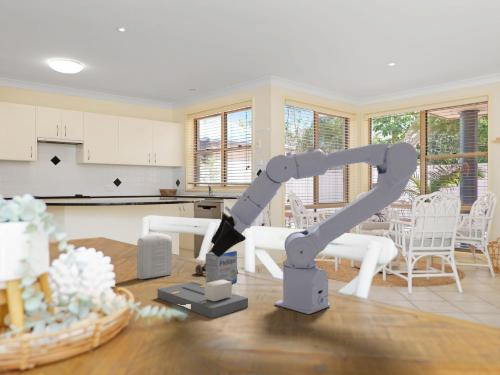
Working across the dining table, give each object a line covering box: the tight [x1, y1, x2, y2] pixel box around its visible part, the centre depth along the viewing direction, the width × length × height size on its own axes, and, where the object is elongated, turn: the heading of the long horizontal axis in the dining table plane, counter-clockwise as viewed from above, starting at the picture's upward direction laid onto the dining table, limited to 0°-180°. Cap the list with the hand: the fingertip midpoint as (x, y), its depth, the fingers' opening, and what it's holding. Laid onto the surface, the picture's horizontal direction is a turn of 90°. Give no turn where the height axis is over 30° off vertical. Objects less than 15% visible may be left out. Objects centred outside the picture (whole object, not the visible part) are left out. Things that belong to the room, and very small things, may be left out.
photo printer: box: [136, 232, 173, 280], centre depth 114 cm, size 10×4×12 cm, turn 134°
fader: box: [204, 279, 233, 301], centre depth 85 cm, size 3×5×3 cm, turn 135°
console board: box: [156, 281, 249, 319], centre depth 89 cm, size 20×10×2 cm, turn 45°
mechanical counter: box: [194, 248, 239, 276], centre depth 118 cm, size 7×13×10 cm
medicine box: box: [205, 249, 238, 285], centre depth 106 cm, size 8×4×9 cm, turn 143°
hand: (214, 248), depth 88 cm, fingers open, 7 cm apart
